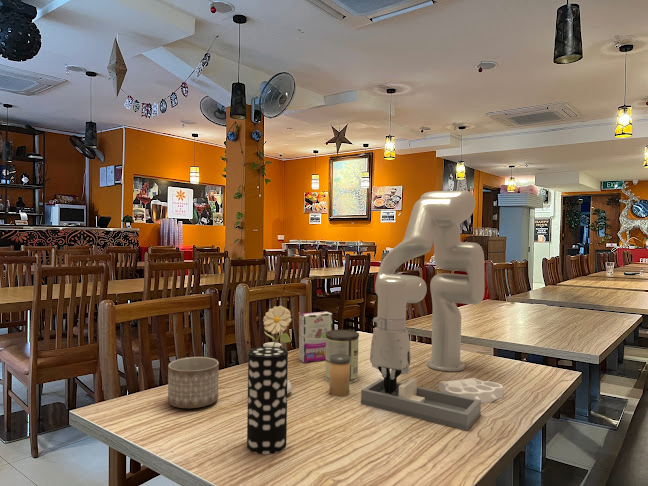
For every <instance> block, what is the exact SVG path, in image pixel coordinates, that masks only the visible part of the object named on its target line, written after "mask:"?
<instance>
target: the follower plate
mask: <svg viewBox="0 0 648 486" xmlns="http://www.w3.org/2000/svg"><path fill="white" fill-rule="evenodd" d="M417 387H418V379H417V378H415V377H410V378H409V379H407V380H406V381H404V382H403V384H401V385H400V386H399V397H401V398H406V399H410V400H414V401H419V402H423V403H424V402H425V398H424V397H420V396H417Z"/></svg>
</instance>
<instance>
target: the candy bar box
mask: <svg viewBox="0 0 648 486" xmlns="http://www.w3.org/2000/svg"><path fill="white" fill-rule="evenodd" d="M298 316H299V317H298V333H299V334H298V336H299V337H298V360H299V361H301V362H302V363H303V364H308V363H314V362H322V361H326V332H328V331H331V330H333V313H332V312H330V311H320V312H319V311H318V312H307V313H299V315H298Z"/></svg>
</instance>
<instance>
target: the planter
mask: <svg viewBox="0 0 648 486" xmlns="http://www.w3.org/2000/svg"><path fill="white" fill-rule="evenodd" d="M219 365H220V362H219V361H218V359H216V358H212V357H208V356H207V357H206V356H191V357H181V358H178V359H175V360H172V361H170V362H169V363H168V364H167V367H168V369H167V371H168V372H167V373H168V375H167V377H168V378H167V381H168V383H167V402H168V403H169V405H171V406H173V407H175V408H180V409H198V408H201V407H206V406H209V405H212V404H214V403H216V401H218V399H219V378H220V377H219V376H220V374H219V371H220V370H219V369H220V368H219Z"/></svg>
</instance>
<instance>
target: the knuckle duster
mask: <svg viewBox="0 0 648 486" xmlns="http://www.w3.org/2000/svg"><path fill="white" fill-rule="evenodd" d="M437 387H438V391H440V392H445V393H450V394H454V395H459V396H464V397H468V398H473V399H477V400H481V404H484V403H488V404H490V403H492V402H495V401H496V400H499V399H503V397H504V385H503V384H501V383H499V382H496V381H495V382H494V381H491V380H490V381H489V380H488V381H485V380H481V379H478V378H475V377H469V378H465V379H454V380H447V381H443V380H442V381H439V382H438V383H437Z"/></svg>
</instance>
